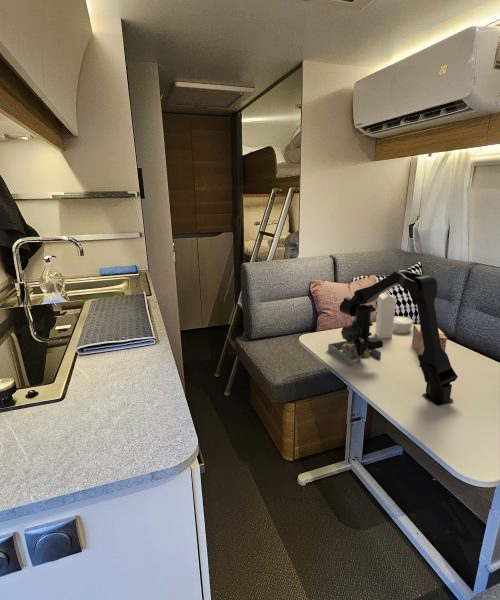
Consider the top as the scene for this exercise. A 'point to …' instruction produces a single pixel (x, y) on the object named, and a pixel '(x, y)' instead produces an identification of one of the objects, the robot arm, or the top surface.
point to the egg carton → (350, 348)
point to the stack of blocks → (418, 339)
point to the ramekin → (402, 324)
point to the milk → (385, 315)
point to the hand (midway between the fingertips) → (359, 356)
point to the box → (334, 350)
